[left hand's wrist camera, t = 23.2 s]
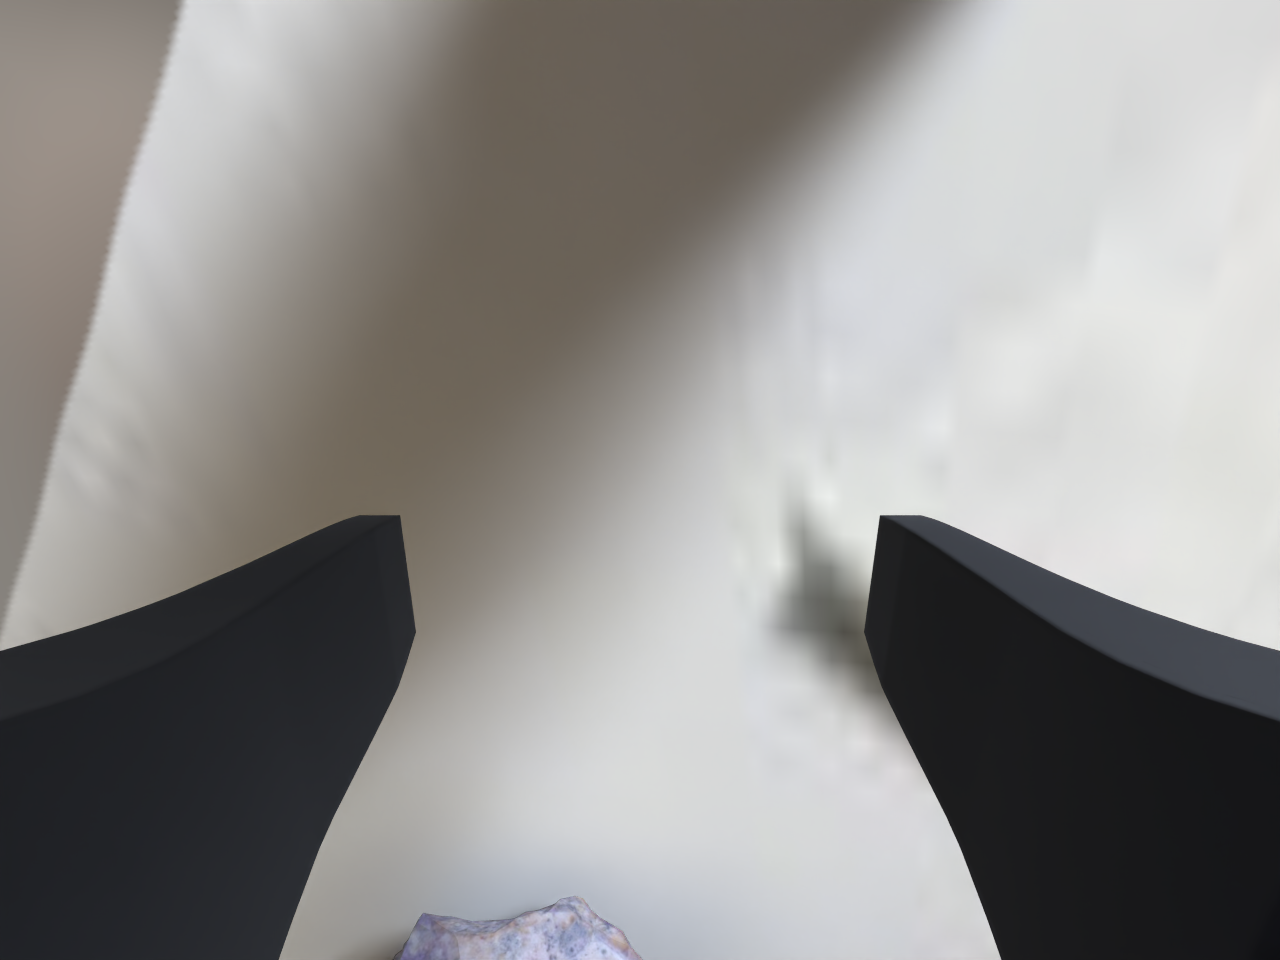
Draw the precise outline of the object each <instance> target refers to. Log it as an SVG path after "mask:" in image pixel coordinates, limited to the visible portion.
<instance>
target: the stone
mask: <svg viewBox="0 0 1280 960" xmlns="http://www.w3.org/2000/svg"><path fill="white" fill-rule="evenodd" d="M393 960H642V958H641V957H640V956H639V955H638V954H637V953H636V952H635V951H634V950H633V949H632V947H631V945H630V943H629V942H628V940H627V938H626V936H625V934H624V933H623V931H622V930H620V929H618V928H617V927H615V926H613V925H612V924H610V923H608V922H607V921H605V920H603V919H602V918H600V917H599V916H598V915H596V914H595V913H594V912H593V911H592V910H590V908H589V906H588V905H587V903H586V902H585V900H584V899H583V898H580V897H576V896H573V897H569V898H564V899H560V900H559V901H558V902H557V903H556V904H553V905H551V906H548V907H545V908H543V909H540V910H537V911H530V912H525V913H524V914H522V915H520V916H518V917H517V918H514V919H510V920H492V921H476V922H472V921H468V920H464V919H459V918H455V917H446V916H437V915H431V914H425V913H423V914H422V916H421V917H420V918H419V920H418V921H417V923H416V925H415V927H414V929H413V931H412V933H411V935H410V937H409V939H408V940H407V942H406V943H405V944H404V947H403V950H401V951H400V952H399V953H397V954H396V955H395V957H394V959H393Z"/></svg>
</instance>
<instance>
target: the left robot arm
mask: <svg viewBox="0 0 1280 960" xmlns="http://www.w3.org/2000/svg"><path fill="white" fill-rule="evenodd" d="M415 633H416V630H415V622H414V615H413V608H412V600H411V593H410V586H409V578H408V571H407V563H406V556H405V549H404V541H403V534H402V527H401V519H400V515H359V516H356V517H352V518H349V519H346V520H343V521H340V522H338V523H335V524H333V525H330V526H328V527H326V528H323V529H321V530H319V531H317V532H315V533H312V534H310V535H308V536H306V537H304V538H302V539H299V540H297V541H295V542H293V543H291V544H289V545H287V546H284V547H282V548H280V549H278V550H276V551H274V552H272V553H269V554H267V555H265V556H263V557H261V558H259V559H257V560H254V561H252V562H250V563H248V564H246V565H243V566H241V567H239V568H236V569H234V570H232V571H230V572H227V573H225V574H223V575H220V576H218V577H216V578H213V579H211V580H209V581H206V582H204V583H202V584H199V585H197V586H195V587H192V588H190V589H188V590H185V591H183V592H181V593H178V594H176V595H173V596H171V597H168V598H166V599H163V600H160V601H158V602H155V603H152V604H150V605H147V606H144V607H142V608H139V609H136V610H133V611H130V612H127V613H125V614H122V615H119V616H116V617H113V618H110V619H107V620H104V621H101V622H98V623H95V624H92V625H89V626H86V627H83V628H80V629H77V630H73V631H70V632H66V633H63V634H59V635H56V636H52V637H49V638H45V639H42V640H38V641H34V642H31V643H27V644H24V645H20V646H17V647H13V648H10V649H6V650H2V651H0V960H279V957H280V954H281V951H282V948H283V945H284V943H285V940H286V937H287V934H288V931H289V928H290V925H291V922H292V920H293V917H294V914H295V912H296V909H297V906H298V904H299V901H300V898H301V896H302V893H303V890H304V888H305V885H306V882H307V880H308V877H309V874H310V872H311V869H312V866H313V864H314V861H315V859H316V856H317V853H318V851H319V848H320V846H321V844H322V841H323V839H324V837H325V835H326V832H327V830H328V828H329V826H330V824H331V821H332V819H333V817H334V815H335V813H336V811H337V809H338V807H339V805H340V803H341V801H342V799H343V797H344V795H345V793H346V791H347V789H348V787H349V785H350V783H351V781H352V779H353V777H354V775H355V773H356V771H357V769H358V767H359V765H360V763H361V761H362V759H363V757H364V755H365V753H366V751H367V749H368V747H369V745H370V743H371V741H372V739H373V738H374V736H375V734H376V732H377V730H378V727H379V725H380V723H381V721H382V719H383V717H384V715H385V713H386V711H387V709H388V707H389V705H390V703H391V701H392V699H393V697H394V695H395V693H396V690H397V688H398V686H399V683H400V680H401V677H402V674H403V671H404V668H405V665H406V663H407V659H408V656H409V653H410V649H411V646H412V643H413V640H414V636H415ZM864 633H865V636H866V640H867V643H868V646H869V649H870V653H871V656H872V659H873V663H874V665H875V668H876V671H877V674H878V677H879V680H880V683H881V686H882V688H883V690H884V693H885V695H886V697H887V699H888V701H889V703H890V705H891V707H892V709H893V711H894V713H895V715H896V717H897V719H898V721H899V723H900V725H901V727H902V730H903V732H904V734H905V736H906V738H907V739H908V741H909V743H910V745H911V747H912V749H913V751H914V753H915V755H916V757H917V759H918V761H919V763H920V765H921V767H922V769H923V771H924V773H925V775H926V777H927V779H928V781H929V783H930V785H931V787H932V789H933V791H934V793H935V795H936V797H937V799H938V801H939V803H940V805H941V807H942V809H943V811H944V813H945V815H946V817H947V819H948V821H949V824H950V826H951V828H952V830H953V832H954V835H955V837H956V839H957V841H958V844H959V846H960V848H961V851H962V853H963V856H964V859H965V861H966V864H967V866H968V869H969V872H970V874H971V877H972V880H973V882H974V885H975V888H976V890H977V893H978V896H979V898H980V901H981V904H982V906H983V909H984V912H985V914H986V917H987V920H988V922H989V925H990V928H991V931H992V934H993V937H994V940H995V943H996V945H997V948H998V951H999V954H1000V957H1001V960H1280V651H1278V650H1274V649H1271V648H1267V647H1263V646H1259V645H1256V644H1252V643H1248V642H1245V641H1241V640H1237V639H1234V638H1231V637H1227V636H1224V635H1221V634H1217V633H1214V632H1211V631H1207V630H1204V629H1201V628H1198V627H1195V626H1192V625H1189V624H1186V623H1183V622H1180V621H1177V620H1174V619H1171V618H1168V617H1165V616H1162V615H1159V614H1156V613H1153V612H1150V611H1148V610H1145V609H1142V608H1139V607H1136V606H1134V605H1131V604H1128V603H1126V602H1123V601H1120V600H1118V599H1115V598H1112V597H1110V596H1107V595H1105V594H1103V593H1100V592H1098V591H1095V590H1093V589H1090V588H1088V587H1086V586H1083V585H1081V584H1078V583H1076V582H1073V581H1071V580H1069V579H1066V578H1064V577H1062V576H1059V575H1057V574H1055V573H1053V572H1050V571H1048V570H1046V569H1044V568H1041V567H1039V566H1037V565H1035V564H1033V563H1030V562H1028V561H1026V560H1024V559H1022V558H1020V557H1017V556H1015V555H1013V554H1011V553H1009V552H1007V551H1005V550H1002V549H1000V548H998V547H996V546H994V545H992V544H990V543H987V542H985V541H983V540H981V539H979V538H977V537H975V536H972V535H970V534H968V533H966V532H964V531H962V530H959V529H957V528H955V527H952V526H950V525H948V524H945V523H943V522H940V521H938V520H935V519H932V518H928V517H925V516H921V515H880V519H879V527H878V534H877V541H876V549H875V556H874V563H873V571H872V578H871V586H870V593H869V600H868V608H867V615H866V622H865V630H864Z"/></svg>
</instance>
